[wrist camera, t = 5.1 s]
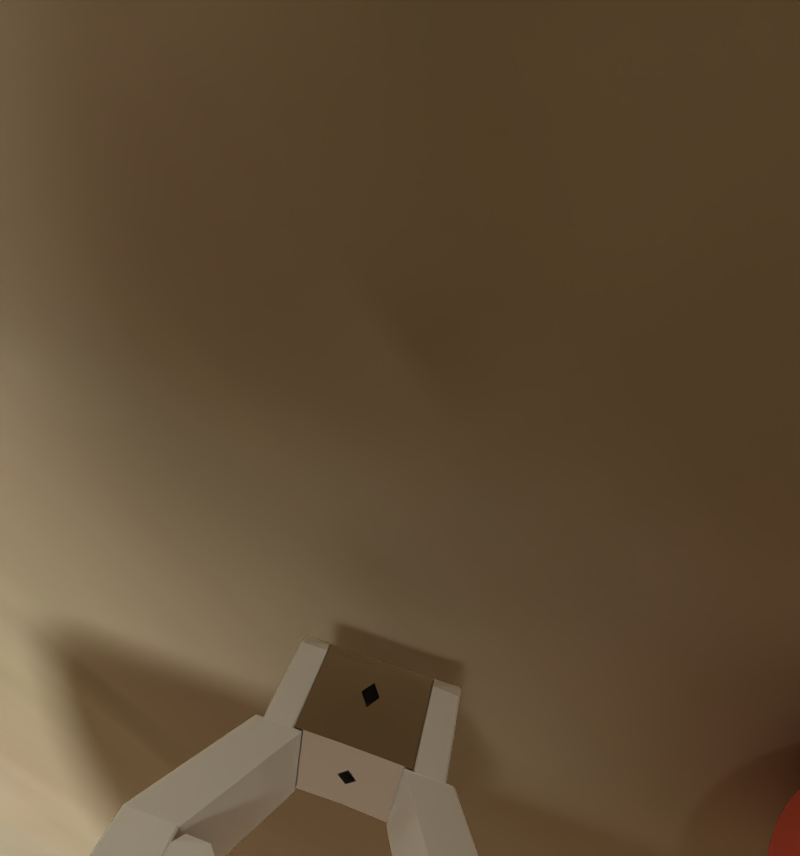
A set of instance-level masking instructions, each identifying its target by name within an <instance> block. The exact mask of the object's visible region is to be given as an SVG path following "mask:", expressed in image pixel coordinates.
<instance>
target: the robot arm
mask: <svg viewBox="0 0 800 856" xmlns="http://www.w3.org/2000/svg"><path fill="white" fill-rule="evenodd" d="M460 698H461V689H460V687H459V686H456V685H452V684H449V683H446V682H443V681H440V680H437V679H433V677H430V676H427V675H424V674H421V673H418V672H415V671H412V670H408V669H405V668H402V667H399V666H396V665H393V664H390V663H386V662H383V661H382V662H381V661H378V660H375V659H372V658H370V657H367V656H364V655H361V654H358V653H355V652H353V651H350V650H347V649H344V648H341V647H338V646H335V645H333V644H331V643H328V642H325V641H322V640H319V639H316V638H313V637H310V636H307V635H306V637H305V638H304V639H303V640H302V642H301V643H300V645H299V647H298V649H297V651H296V653H295V655H294V657H293V659H292V661H291V663H290V665H289V667H288V669H287V671H286V673H285V675H284V677H283V679H282V681H281V683H280V685H279V687H278V689H277V690H276V692H275V694H274V696H273V698H272V700H271V702H270V704H269V706H268V708H267V710H266V712H265V714H264V716H260V715H257V714H255V715H254V716H252V717H251V718H249V719H248V720H246V721H245V722H243V723H242V724H240V725H239V726H237V727H236V728H235V729H233V730H232V731H230V732H229V733H227V734H226V735H224V736H223V737H221V738H220V739H218V740H217V741H215V742H214V743H212V744H211V745H210V746H208V747H207V748H205V749H204V750H202V751H201V752H199V753H198V754H196V755H195V756H193V757H192V758H190V759H189V760H187V761H186V762H185V763H183V764H182V765H180V766H179V767H177V768H176V769H174V770H173V771H171V772H170V773H168V774H167V775H165V776H164V777H162V778H161V779H160V780H158V781H157V782H155V783H154V784H152V785H151V786H149V787H148V788H146V789H145V790H143V791H142V792H140V793H139V794H137V795H136V796H135V797H133V798H132V799H130V800H129V801H127V802H126V803H124V804H123V805H122V807H121V808H120V810H119V811H118V813H117V814H116V816H115V817H114V819H113V821H112V822H111V824H110V825H109V827H108V828H107V830H106V831H105V833H104V834H103V836H102V837H101V839H100V840H99V842H98V844H97V845H96V847H95V848H94V850H93V851H92V853H91V854H90V856H226V855H227V854H228V853H229V852H230V851H231V850H232V849H233V848H234V847H235V846H236V845H237V844H239V843H240V842H241V841H242V840H243V839H244V838H245V837H246V836H247V835H248V834H249V833H250V832H251V831H253V830H254V829H255V828H256V827H257V826H258V825H259V824H260V823H261V822H262V821H263V820H264V819H265V818H267V817H268V816H269V815H270V814H271V813H272V812H273V811H274V810H275V809H276V808H277V807H278V806H279V805H281V804H282V803H283V802H284V801H285V800H286V799H287V798H288V797H289V796H290V795H291V794H292V793H294V791H295V788H297V789H300V790H303V791H306V792H308V793H311V794H314V795H317V796H320V797H323V798H326V799H329V800H332V801H334V802H337V803H340V804H343V805H345V806H348V807H350V808H352V809H355V810H357V811H360V812H362V813H364V814H367V815H369V816H372V817H374V818H377V819H379V820H381V821H384V822H386V823H387V825H386V827H387V832H388V837H389V843H390V848H391V853H392V856H479V855H478V852H477V850H476V847H475V844H474V841H473V838H472V835H471V832H470V829H469V826H468V823H467V821H466V818H465V815H464V812H463V809H462V806H461V803H460V800H459V797H458V794H457V792H456V789H455V787H454V786H452V785H450V784H447V777H448V771H449V765H450V759H451V753H452V747H453V741H454V734H455V728H456V722H457V716H458V710H459V704H460ZM341 802H342V803H341Z"/></svg>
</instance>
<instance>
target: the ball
mask: <svg viewBox="0 0 800 856" xmlns="http://www.w3.org/2000/svg"><path fill="white" fill-rule="evenodd" d="M768 856H800V789H799V790H798V791H797V792H796V794H795V795H794V796H793V797H792V798H791V799H790V800H789V802H788V803H787V805H786V807H785V808H784V810H783V812H782V814H781V815H780V817H779V819H778V821H777V823H776V826H775V829H774V832H773V835H772V838H771V841H770V844H769V850H768Z"/></svg>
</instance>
